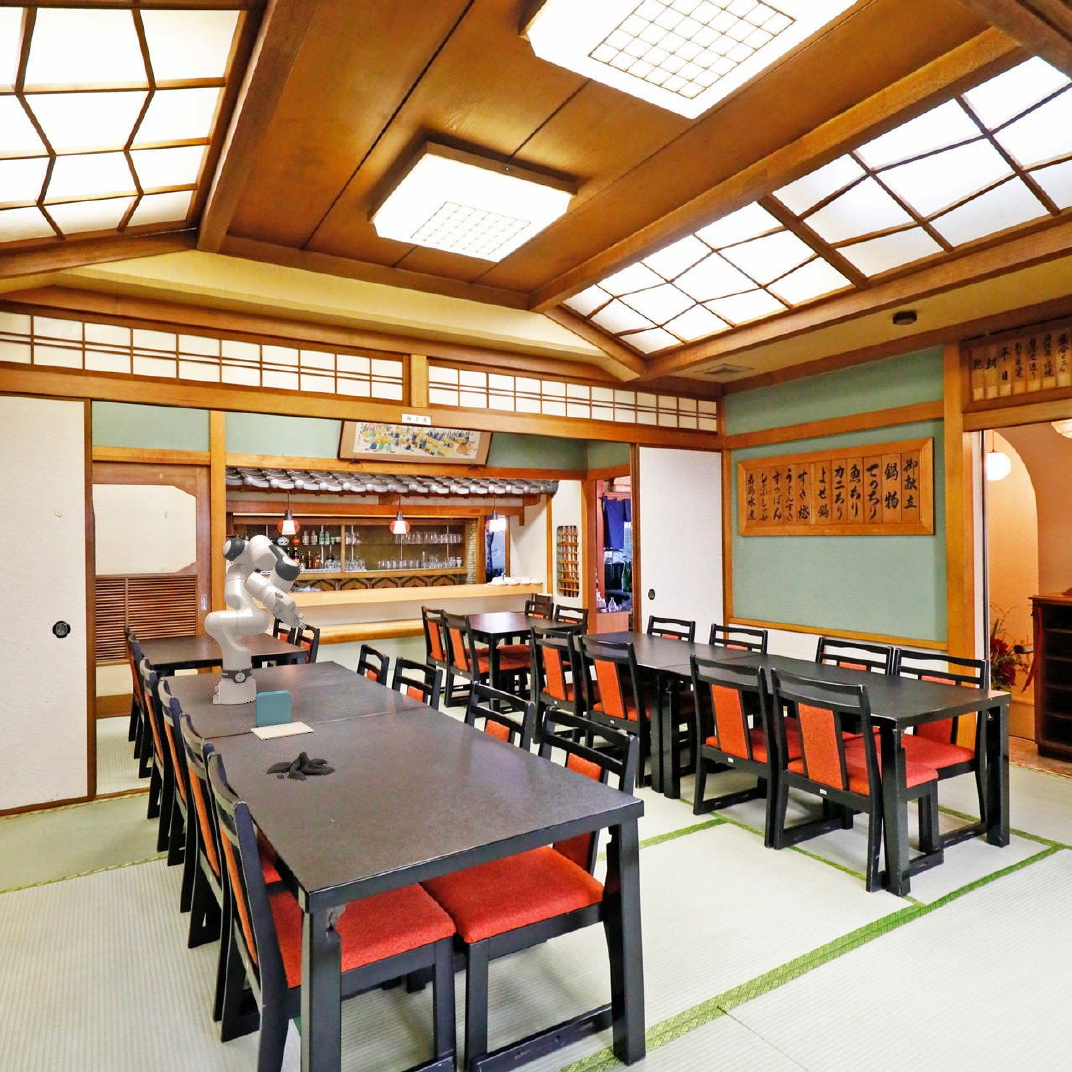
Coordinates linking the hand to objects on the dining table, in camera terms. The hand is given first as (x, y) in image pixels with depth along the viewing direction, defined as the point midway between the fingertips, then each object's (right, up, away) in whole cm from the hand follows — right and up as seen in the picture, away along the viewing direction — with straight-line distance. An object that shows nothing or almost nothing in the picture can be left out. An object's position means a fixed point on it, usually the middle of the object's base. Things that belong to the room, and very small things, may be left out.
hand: (303, 622), depth 271 cm
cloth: (+22, -36, -68) cm, 80 cm away
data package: (-7, -36, -14) cm, 39 cm away
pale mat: (0, -36, -23) cm, 43 cm away
